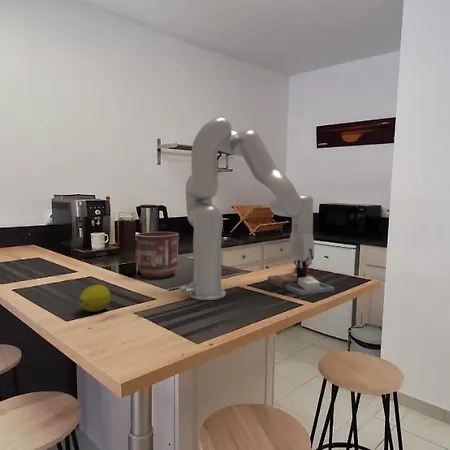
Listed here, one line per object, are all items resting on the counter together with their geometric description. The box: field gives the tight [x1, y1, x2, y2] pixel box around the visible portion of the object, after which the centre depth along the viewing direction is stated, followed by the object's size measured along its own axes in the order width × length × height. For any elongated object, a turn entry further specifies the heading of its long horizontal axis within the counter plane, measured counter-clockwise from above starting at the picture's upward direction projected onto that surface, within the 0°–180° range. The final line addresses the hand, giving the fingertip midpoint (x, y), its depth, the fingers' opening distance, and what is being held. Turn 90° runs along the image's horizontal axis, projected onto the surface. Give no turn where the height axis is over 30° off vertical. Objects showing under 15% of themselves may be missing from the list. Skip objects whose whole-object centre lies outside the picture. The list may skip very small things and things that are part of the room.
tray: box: [284, 281, 335, 297], centre depth 136 cm, size 14×10×2 cm
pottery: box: [135, 231, 180, 280], centre depth 160 cm, size 18×18×18 cm
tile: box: [298, 275, 321, 290], centre depth 138 cm, size 6×6×2 cm
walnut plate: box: [267, 272, 318, 289], centre depth 146 cm, size 16×10×2 cm, turn 114°
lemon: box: [78, 284, 112, 313], centre depth 113 cm, size 11×8×8 cm
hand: (301, 277), depth 141 cm, fingers closed
